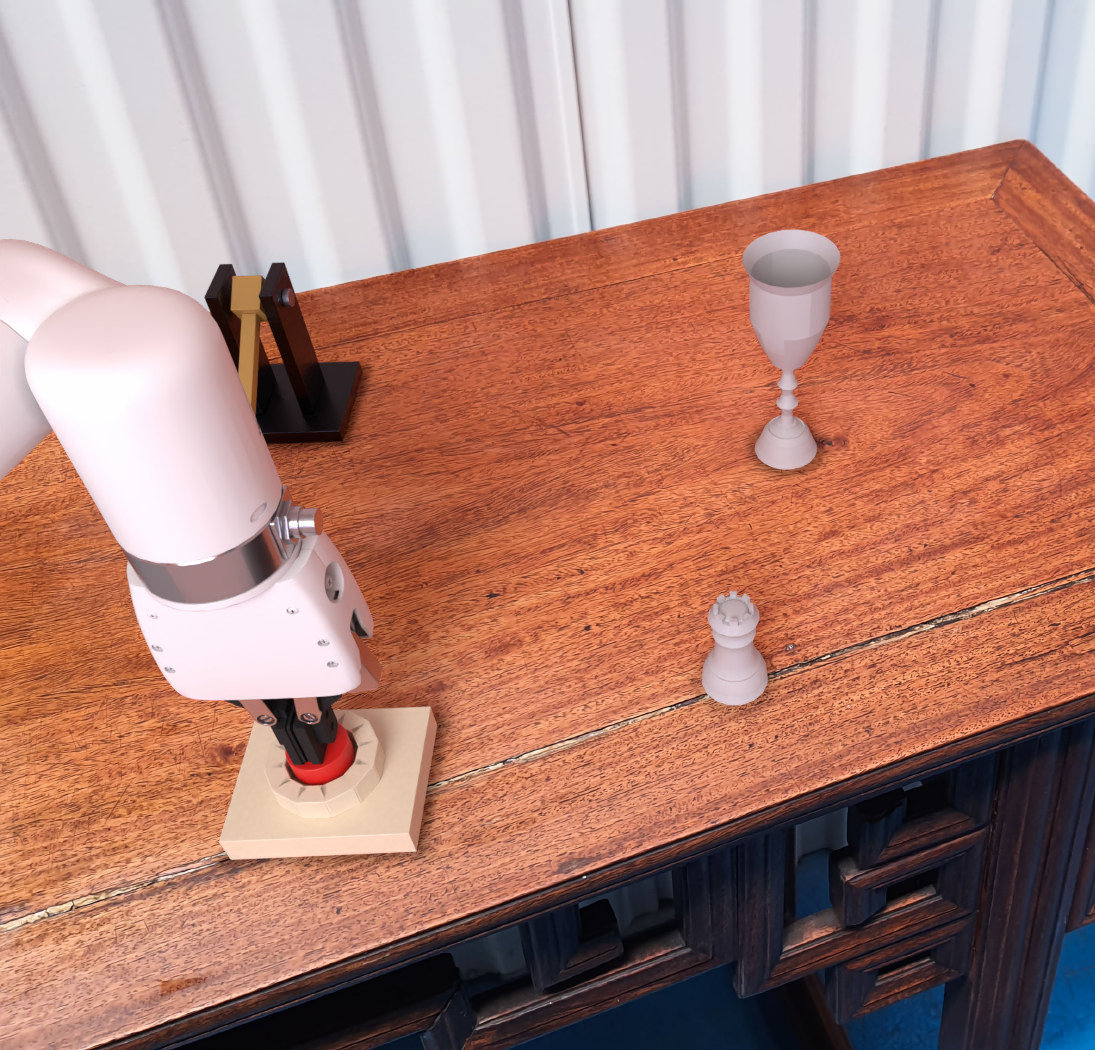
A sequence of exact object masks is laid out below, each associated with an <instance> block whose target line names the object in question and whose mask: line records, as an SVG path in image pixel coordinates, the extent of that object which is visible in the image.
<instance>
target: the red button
mask: <svg viewBox="0 0 1095 1050" xmlns="http://www.w3.org/2000/svg"><path fill="white" fill-rule="evenodd" d="M285 755H286V759H287V761H288V763H289V765H290V766H291V768H292V770H293V772H294V774H295V776H296V777H297V778H298V780H300V781H301V782H303V783H305V784H307V785H311V786H312V785H325V784H327V783H329V782H331V781H333V780H335V779H337V778H339V777H341V776H343V775H344V774H345V772H346V771H347V770H348V769H349V768H350V767H351V765H352V763H353V760H354V755H355V752H354V747H353V745H352V743H351V741H350V738H349V736H348V734H347V732H346V730H345V728H344V727H343V726H342V725H341V724H339V723H338V731H337V736H336V740H335V742H334V743H328V745H327V749H326V754H325V758H324V762H323V764H314V765H313V764H312V763H311V762H309V761H308V762H305V764H304V765H294V764H293V763H292V761H291V759H290V757H289V755H288V753H287V751H286V749H285Z"/></svg>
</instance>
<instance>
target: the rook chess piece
mask: <svg viewBox="0 0 1095 1050" xmlns="http://www.w3.org/2000/svg"><path fill="white" fill-rule="evenodd" d="M759 621H760V611H759V609H758V607H757V606H756V604H755V603H753V602H752V601H751V597H750V596H749V595H747V593H743V594H742V595H741V596H740V595H738V590H729V595H728V596H725V595H724V593H721V594H720V595H718V596H717V597H716V601H715V602H714V603H713V604H712V605H711V606H710V608H709V610H708V612H707V622H708V623H709V626H710V627H711V635H712V637H713V640H714V646H713V648H711V650H710V651H709V653H708V654H707V656H706V657H705V659H704V661H703V664H702V672H701V685H702V688H703V689H704V691H705V693H706V694H707V695H708V696H709V697H710V698H712V699H713V700H714V701H715V702H718V703H721V704H723V705H726V706H743V705H746V704H749V703H751V702H754V701H755V700H757V699H758V698H759V697H760V696H761V695H762V694H763V693H764V691H765V690H766V688H767V686H768V682H769V681H768V680H769V679H768V677H769V676H768V671H767V670H768V669H767V663H766V661H765V659H764V657H763V656H762V653H761V652H760V651H759V650H758V648H757V647H756V646H755V643H754V638H755V637H756V633H757V625H758V624H759Z"/></svg>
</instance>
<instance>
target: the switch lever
mask: <svg viewBox="0 0 1095 1050" xmlns="http://www.w3.org/2000/svg"><path fill="white" fill-rule="evenodd" d="M265 279H266V278H265V277H264V276H263V275H260V274H258V275H257V274H255V275H236V276H233V279H232V296H231V311H232V312H233V313H234V314H235V315H236V316H237V317H238V318H240V319H241V337H240V355H239V372H238V375H239V377H240V380H241V382H242V385H243V387H244V390H245V392H246V395H247V397H248V400H249V402H250V405H251V407H252V410H253V412H254V415H255V416H256V397H257V379H258V360H259V341H260V339H261V323H263V322H268V320H267V318H266V315H265V312H264V310H263V307H262V304H261V301H260V299H259V293H260V291H261V288H262V286H263V283H264V281H265ZM265 442H266V441H265Z"/></svg>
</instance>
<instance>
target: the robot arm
mask: <svg viewBox="0 0 1095 1050" xmlns="http://www.w3.org/2000/svg"><path fill="white" fill-rule="evenodd" d="M52 432H54V435H55V436H56V438H57V439H58V441H59V443H60V445H61V446H62V448H63V450H64V452H65V453H66V455H67V457H68V459H69V460H70V462H71V464H72V466H73V467H74V469H75V471H76V473H77V474H78V477H79V478H80V479H81V481H82V483H83V485H84V487H85V488H86V490H87V493H88V494H89V495H90V497H91V499H92V501H93V502H94V504H95V506H96V508H97V509H98V511H99V513H100V514H101V516H102V518H103V520H104V521H105V523H106V525H107V527H108V528H109V530H110V532H111V534H112V535H113V538H114V539H115V541H116V542H117V544H118V546H119V548H120V549H121V551H122V553H123V554H124V556H125V558H126V560H127V563H126V577H127V583H128V588H129V589H128V590H129V594H130V598H131V602H132V606H133V611H134V613H135V616H136V620H137V623H138V625H139V629H140V630H141V633H142V635H143V638H144V640H145V643H146V644H147V647H148V650H149V651H150V654H151V656H152V658H153V659H154V662H155V663H156V665H157V667H158V668H159V670H160V671H161V674H162V675H163V677H164V678H165V680H166V682H168V684H169V685H170V686H171V687H172V688H173V690H175V691H176V692H177V693H178V694H179V695H181V696H182V697H183V698H187V699H191V700H192V699H193V700H197V701H225V702H227V703H229V704H232V705H234V706H236V707H239V708H241V709H244V710H246V711H247V713H248V715H250V717H251V718H252V719H253V721H256V722H257V723H259V724H261V725H264V726H270V727H271V729H272V730H273V732H274V734H275V736H276V738H277V740H278V742H279V744H280V745H284V747H285V749H286V751H287V753H288V755H289V757H290V759H291V761H292V763H293V764H294V765H304V764H305V762H308V761H309V762H311V763H312V764H313V765H314V764H323V762H324V758H325V754H326V749H327V745H328V743H334V742H335V740H336V736H337V731H338V721H337V718H336V716H335V713H334V711H333V710H334V709H333V707H332V706H333V705H334V704H335V703H336V702H338V701H339V700H340V699H341V698H342V697H343V695H344V694H346V693H349V694H350V695H351V694H357V693H362V692H363V693H364V692H367V691H373V690H376V689H379V687H380V683H381V679H382V674H383V670H384V667H383V665H382V663H381V662H380V661H379V660H378V659H377V657H376V656H375V654H374V653H373V652H372V651H371V650H370V649H369V647H368V646H367V644H366V643H365V642H364V641H363V640H362V639H373V637H374V629H375V628H374V626H375V625H374V618H373V616H372V613H371V610H370V608H369V605H368V603H367V601H366V599H365V597H364V595H363V592H362V590H361V589H360V587H359V585H358V582H357V581H356V578H355V577H354V575H353V573H352V571H351V569H350V568H349V566H348V564H347V562H346V561H345V559H344V557H343V556H342V554H341V552H340V551H339V549H338V548H337V547H336V545H335V544H334V542H333V541H332V540H331V538H330V537H329V536H328V534H327V533H326V531H324V515H323V511H322V510H321V508H319V507H308V508H306V507H305V505H299V504H298V503H296V502H295V501H294V499H293V496H292V494H291V491H290V489H289V486H288V485H285V484H283V482H282V479H281V476H280V475H279V472H278V469H277V466H276V465H275V462H274V460H273V457H272V455H271V451H270V449H269V447H268V444H266V442H265V439H264V437H263V434H262V432H261V429H260V427H259V424H258V422H257V420H256V417H255V415H254V412H253V410H252V407H251V405H250V402H249V400H248V397H247V395H246V392H245V390H244V387H243V385H242V382H241V380H240V377H239V375H238V372H237V370H236V367H235V365H234V362H233V360H232V357H231V355H230V352H229V350H228V347H227V345H226V342H225V340H224V337H223V335H222V333H221V330H220V328H219V326H218V324H217V323H216V321H215V320H214V318H213V317H212V315H211V313H210V311H209V309H207V308H206V307H205V306H204V305H202V304H201V303H200V302H199V301H197V299H195V298H193V297H191V296H189V295H188V294H186V293H183V292H182V291H180V290H176V289H173V288H171V287H165V286H159V285H153V284H128V285H127V284H125V283H123V282H121V281H118V280H116V279H114V278H111V277H109V276H108V275H105V274H103V273H101V272H99V271H97V270H95V269H92V268H91V267H89V266H87V265H85V264H83V263H81V262H79V261H77V260H75V259H73V258H71V257H69V256H68V255H66V254H63V253H61V252H59V251H56V250H55V249H54V248H53V249H52V248H51V247H48V246H44V245H42V244H39V243H36V242H33V241H28V240H24V239H23V240H22V239H15V238H3V239H0V482H1V481H3V479H5V478H6V477H7V476H8V474H10V473H11V472H12V471H13V470H14V469H15V468H16V467H17V466H18V465H19V464H20V463H21V462H22V461H23V460H24V459H25V458H26V457H28V455H29V454H30V453H32V451H34V450H35V449H36V448H37V447H38V446H39V445H40V444H42V442H43V441H44V440H45V439H46V438H47V437H48V436H50V434H51V433H52Z"/></svg>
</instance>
